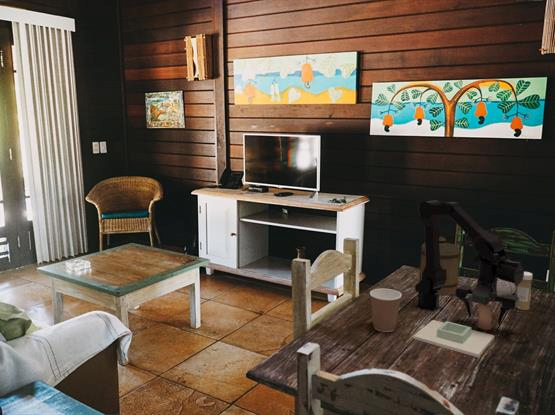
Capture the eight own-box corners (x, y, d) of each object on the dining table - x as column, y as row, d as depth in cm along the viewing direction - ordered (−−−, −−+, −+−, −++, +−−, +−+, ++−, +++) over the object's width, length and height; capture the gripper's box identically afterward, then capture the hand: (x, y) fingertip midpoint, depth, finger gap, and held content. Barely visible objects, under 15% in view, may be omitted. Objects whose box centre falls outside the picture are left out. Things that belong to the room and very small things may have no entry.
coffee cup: (402, 324, 165) (404, 290, 163) (396, 336, 156) (398, 301, 154) (372, 319, 170) (374, 286, 167) (365, 331, 160) (366, 296, 158)
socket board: (413, 338, 155) (413, 328, 154) (432, 322, 167) (433, 312, 166) (478, 357, 142) (479, 346, 142) (494, 338, 154) (494, 328, 154)
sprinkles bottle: (532, 308, 179) (535, 273, 176) (525, 311, 176) (528, 275, 174) (520, 304, 182) (523, 270, 180) (513, 307, 180) (516, 272, 177)
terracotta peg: (476, 327, 163) (477, 304, 161) (479, 323, 166) (481, 301, 164) (488, 330, 160) (490, 307, 159) (492, 326, 163) (494, 304, 162)
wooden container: (448, 282, 207) (451, 232, 203) (463, 295, 193) (467, 241, 189) (414, 283, 207) (416, 233, 203) (426, 296, 192) (429, 241, 188)
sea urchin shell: (472, 288, 200) (473, 269, 199) (500, 285, 204) (501, 267, 202) (493, 299, 188) (495, 280, 186) (523, 296, 191) (525, 277, 190)
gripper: (450, 276, 159) (448, 321, 162) (512, 288, 148) (508, 336, 151) (462, 268, 168) (459, 311, 171) (521, 279, 156) (517, 324, 159)
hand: (484, 320), depth 163 cm, fingers open, 9 cm apart
